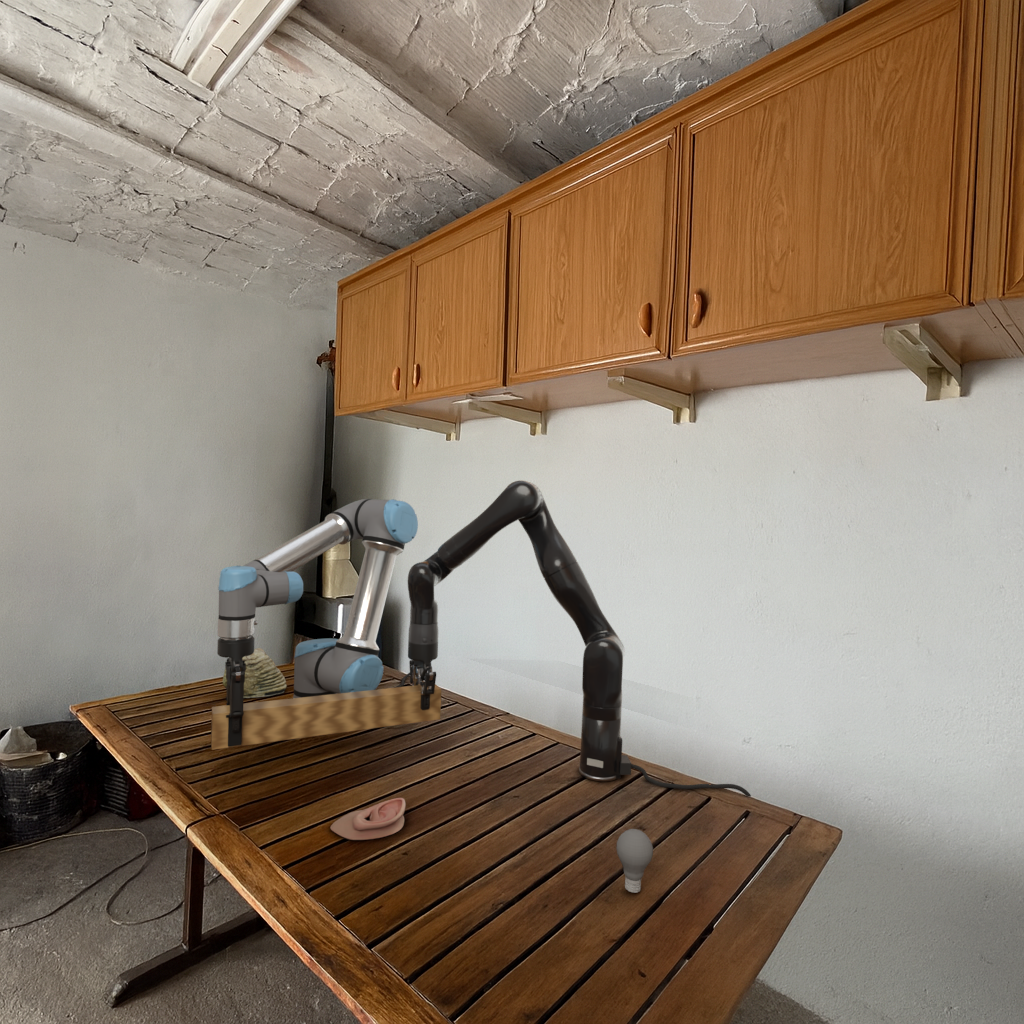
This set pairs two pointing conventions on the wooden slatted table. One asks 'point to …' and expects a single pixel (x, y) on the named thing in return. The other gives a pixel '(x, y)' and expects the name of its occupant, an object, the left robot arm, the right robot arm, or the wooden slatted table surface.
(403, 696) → the post
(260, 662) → the fossil
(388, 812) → the anatomical model
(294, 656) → the left robot arm
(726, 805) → the wooden slatted table surface
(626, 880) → the light bulb
